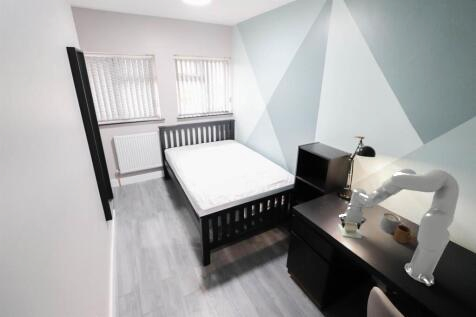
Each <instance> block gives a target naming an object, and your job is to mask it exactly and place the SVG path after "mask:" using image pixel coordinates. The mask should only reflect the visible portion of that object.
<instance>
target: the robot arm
mask: <svg viewBox="0 0 476 317" xmlns="http://www.w3.org/2000/svg"><path fill="white" fill-rule="evenodd" d="M416 172H417V171H415V170H414V169H411V168H403V169H401V170H398V171H396V172H394V173H393V174H392V176H391V177H389V178H388V179H385V181H384V182H382V184H381V185H380V187H378V188H377V189H376V190H374V191H372V192H370V193H367V192H366V190H364V189H363V188H354V189H353V190H352V194H351V198H350V202H349V203H348V204H347V208H346V210H345V212H344V214H339V215H338V217H339V219H340V221H341V226H342V227H343V228H344V227H345V222H351V223H356V225H357V229H358V231H359V230H360V228H361V226H362V225H363V224H364V223H365V222H366V221H367V218H366V217H364V209H363V207H365V208H367V209H372V208H374V207H376V206H378V205H379V204H381V203H383V202H384V201H385V200H387V199H389V198H391V197H392V196H395V195H397V194H398V193H400V192H402V191H403V190H406V191H413V192H421V193H434V194H433V197H432V200H431V204H430V208H429V209H428V210H427V211H426V212H425V213H424V214H423V215H422V216H421V219H420V223H419V226H418V227H419V228H418V230H417V237H416V241H417V243H418V244H417V246H416V248H415V250H414V253H413V256H412V258H411V260H410V262H406V263H405V265H404V270H405V271H406V272H405V273H407V274H408V276H410V277H411V278H413V280H415V281H418V282H419V283H423V284H425V285H426V286H428V287H430V286H432V285H434V284H435V277H434V275H433V272H434V271H435V269H436V267H437V264H438V262H439V261H440V258H441V257H442V255H443V253H444V250H445V249H446V247H447V246H448V243H449V241H450V239H451V234H450V233H451V232H450V231H449V230H448V228H449V227H450V226H451V225H452V223H453V221H454V218H455V214H456V210H457V203H458V200H459V195H460V186H459V184H458V181H457V179H456V178H455V177H454V176H453V175H452V174H450V173H449V172H447V171H445V170H442V169H433V170H432V169H431V170H430V171H428V172H426V173H424V174H418V173H416Z"/></svg>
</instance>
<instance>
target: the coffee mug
mask: <svg viewBox="0 0 476 317" xmlns="http://www.w3.org/2000/svg"><path fill="white" fill-rule="evenodd" d="M398 225H404V226H406V223H405V222H402V221H401V217H399V216H398V215H397V214H394V213H391V212H384V213H383V215H382V217H381V221H380V224H379V228H380V227H381V228H380V229H381V230H382V231H384V232H385V233H389V234H394V233H395V231H396V228H397V226H398Z"/></svg>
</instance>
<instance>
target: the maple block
mask: <svg viewBox="0 0 476 317" xmlns="http://www.w3.org/2000/svg"><path fill="white" fill-rule="evenodd" d="M344 229H345V231H346V233H351V234H356V231H357V223H351V222H345V227H344Z"/></svg>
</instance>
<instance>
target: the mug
mask: <svg viewBox="0 0 476 317" xmlns="http://www.w3.org/2000/svg"><path fill="white" fill-rule="evenodd" d="M393 234H394V235H393V239H394V240H395V242H398V243H400V244H403V245H404V244H407V243H408V241H409V242H411V243H414V242H416V241H417V237H416V235H415V234H413V233H412V229H411V228H410V227H408V226H406V225H405V226H404V225H402V224H399V225H398V226H397V228H396V231H395V233H393ZM411 237H412V238H411Z"/></svg>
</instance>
